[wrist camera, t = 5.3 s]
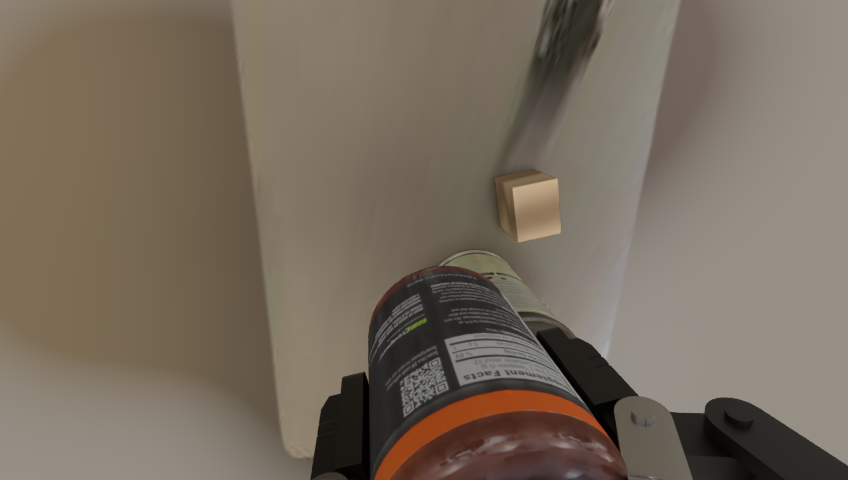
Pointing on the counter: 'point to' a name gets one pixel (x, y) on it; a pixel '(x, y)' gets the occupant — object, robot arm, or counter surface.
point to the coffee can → (509, 288)
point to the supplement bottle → (472, 390)
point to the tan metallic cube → (528, 205)
